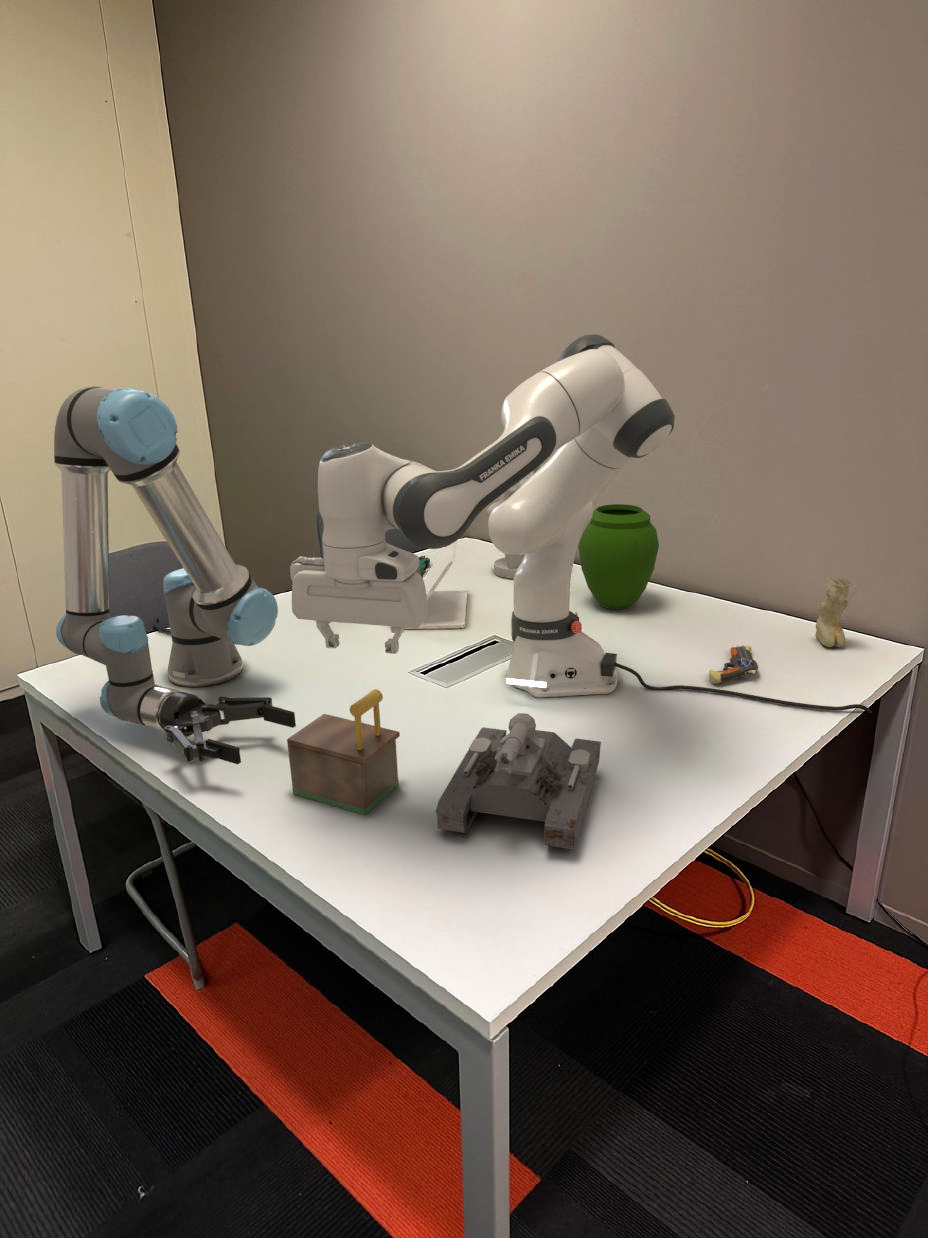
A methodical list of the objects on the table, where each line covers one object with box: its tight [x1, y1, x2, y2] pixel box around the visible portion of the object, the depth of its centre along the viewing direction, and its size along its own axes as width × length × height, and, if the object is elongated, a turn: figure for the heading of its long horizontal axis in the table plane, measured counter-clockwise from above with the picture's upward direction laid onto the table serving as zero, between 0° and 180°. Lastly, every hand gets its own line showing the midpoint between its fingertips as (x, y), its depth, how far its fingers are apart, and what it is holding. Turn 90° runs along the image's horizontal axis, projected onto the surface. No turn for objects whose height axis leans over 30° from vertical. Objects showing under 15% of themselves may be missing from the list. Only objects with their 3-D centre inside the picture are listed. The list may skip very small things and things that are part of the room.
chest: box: [287, 739, 400, 816], centre depth 136 cm, size 14×10×9 cm
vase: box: [578, 503, 660, 610], centre depth 210 cm, size 20×20×24 cm
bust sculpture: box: [485, 462, 544, 579], centre depth 231 cm, size 16×24×35 cm
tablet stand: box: [404, 540, 468, 630], centre depth 211 cm, size 18×25×17 cm
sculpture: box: [814, 576, 852, 648], centre depth 185 cm, size 6×7×15 cm
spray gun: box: [415, 555, 431, 576], centre depth 246 cm, size 4×17×15 cm
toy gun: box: [708, 645, 760, 684], centre depth 176 cm, size 3×19×10 cm
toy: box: [435, 712, 602, 850], centre depth 130 cm, size 25×20×15 cm
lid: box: [286, 688, 401, 764], centre depth 132 cm, size 15×10×8 cm, turn 62°
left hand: (267, 737), depth 140 cm, fingers open, 13 cm apart
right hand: (362, 649), depth 126 cm, fingers open, 8 cm apart
